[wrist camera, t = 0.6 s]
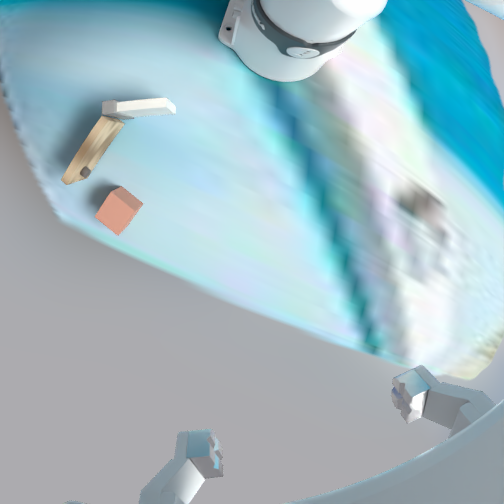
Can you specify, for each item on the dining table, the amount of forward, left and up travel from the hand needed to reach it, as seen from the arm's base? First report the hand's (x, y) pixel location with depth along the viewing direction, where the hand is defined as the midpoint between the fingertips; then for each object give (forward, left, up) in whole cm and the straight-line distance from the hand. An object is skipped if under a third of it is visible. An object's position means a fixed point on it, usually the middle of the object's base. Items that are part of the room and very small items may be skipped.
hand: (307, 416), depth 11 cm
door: (-10, -20, -35) cm, 42 cm away
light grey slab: (-16, -13, -35) cm, 41 cm away
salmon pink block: (-2, -18, -35) cm, 39 cm away
